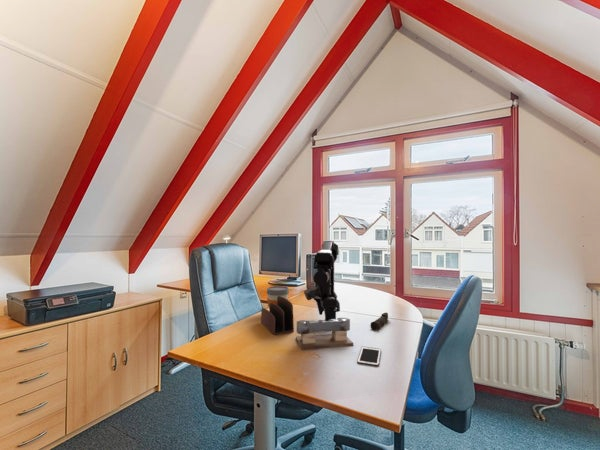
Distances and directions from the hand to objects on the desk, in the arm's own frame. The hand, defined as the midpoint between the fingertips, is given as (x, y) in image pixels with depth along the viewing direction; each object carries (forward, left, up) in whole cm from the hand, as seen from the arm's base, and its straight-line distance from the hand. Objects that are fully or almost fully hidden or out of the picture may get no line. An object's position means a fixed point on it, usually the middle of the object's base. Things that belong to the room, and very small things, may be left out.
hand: (323, 317), depth 122 cm
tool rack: (0, 0, -10) cm, 10 cm away
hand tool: (-16, +35, -11) cm, 40 cm away
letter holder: (-23, -17, -11) cm, 31 cm away
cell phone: (+17, +13, -11) cm, 24 cm away
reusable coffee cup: (-43, -14, -11) cm, 47 cm away
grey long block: (0, 0, -5) cm, 5 cm away
